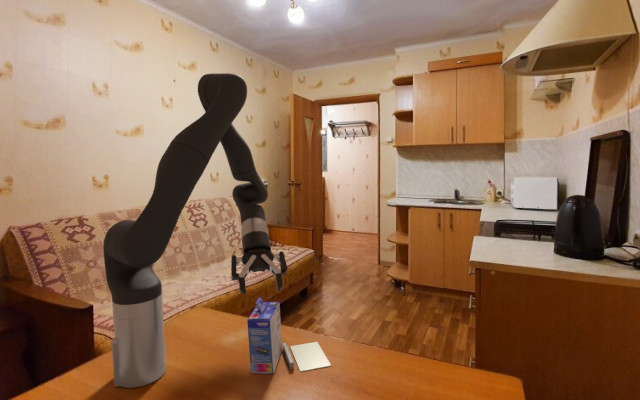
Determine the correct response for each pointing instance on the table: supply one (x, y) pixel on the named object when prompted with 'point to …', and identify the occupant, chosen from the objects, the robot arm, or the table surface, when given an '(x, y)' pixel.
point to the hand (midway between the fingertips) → (261, 291)
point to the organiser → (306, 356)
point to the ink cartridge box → (264, 337)
